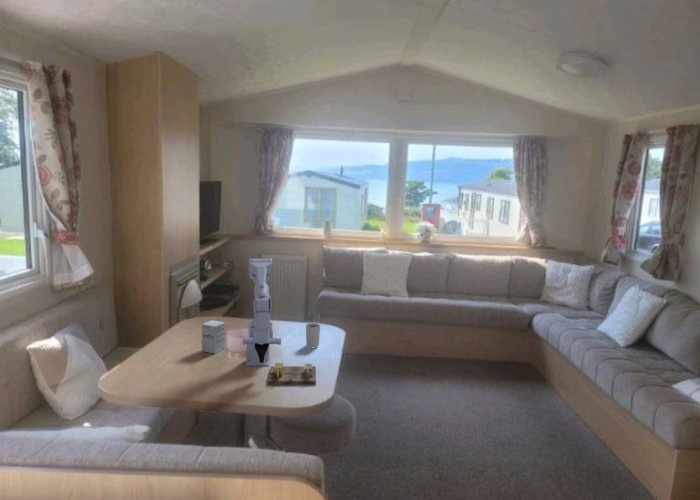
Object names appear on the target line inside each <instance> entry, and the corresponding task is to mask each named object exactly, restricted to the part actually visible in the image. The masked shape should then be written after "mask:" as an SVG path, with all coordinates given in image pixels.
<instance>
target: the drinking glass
mask: <svg viewBox="0 0 700 500" xmlns="http://www.w3.org/2000/svg"><path fill="white" fill-rule="evenodd" d="M320 331H321V324H320V323H316V322H309V323H307V324H305V341H306V344H305V345H306V348H308V347H310V348H309V349H312V348H311V347H317V346H320V334H321V333H320ZM317 348H318V347H317Z"/></svg>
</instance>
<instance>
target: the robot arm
mask: <svg viewBox="0 0 700 500" xmlns="http://www.w3.org/2000/svg"><path fill="white" fill-rule="evenodd" d="M272 272H273V259H272V257H269V258H249V259H248V277H249V279H250V280H252V281H253V283H254V288H253V289H254V290H253V291H254V300H253V313H254V314H253V315H254V319H253V320H252V321H250V322H249V325H248V337H244V338H243V339H242V345H244V346H246V351H245V352H246V353H245V354H246V357H245V362H246V363H245V365H246V367H247V366H252V367H253V366H254V367H255V366H260V367H261V366H262V367H263V366H266V367H267V366H270V364H271V360H272V359H271V357H270V345H282V337H281V338H278V337H274V335H273V334H274V329H273V322H272V321H271V314H270V313H271V311H272V299H271V295H270V286H269V285H268V284H267V281H269V280H270V279H271V278H272V274H273V273H272Z"/></svg>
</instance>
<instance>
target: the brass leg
mask: <svg viewBox="0 0 700 500" xmlns="http://www.w3.org/2000/svg"><path fill="white" fill-rule="evenodd" d="M274 366H275V367H274V375H277V379H279V375H282V373H283V366H284V363H283V362H275V363H274Z"/></svg>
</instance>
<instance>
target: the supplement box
mask: <svg viewBox="0 0 700 500" xmlns="http://www.w3.org/2000/svg"><path fill="white" fill-rule="evenodd" d="M225 349H226V322H224V321H218V320H213V319H211V320H209V321H206V322H203V323H202V324H201V351H202V352H206V353H210V354H214V355H216V354H218V353H220V352H222V351H224V350H225Z"/></svg>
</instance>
